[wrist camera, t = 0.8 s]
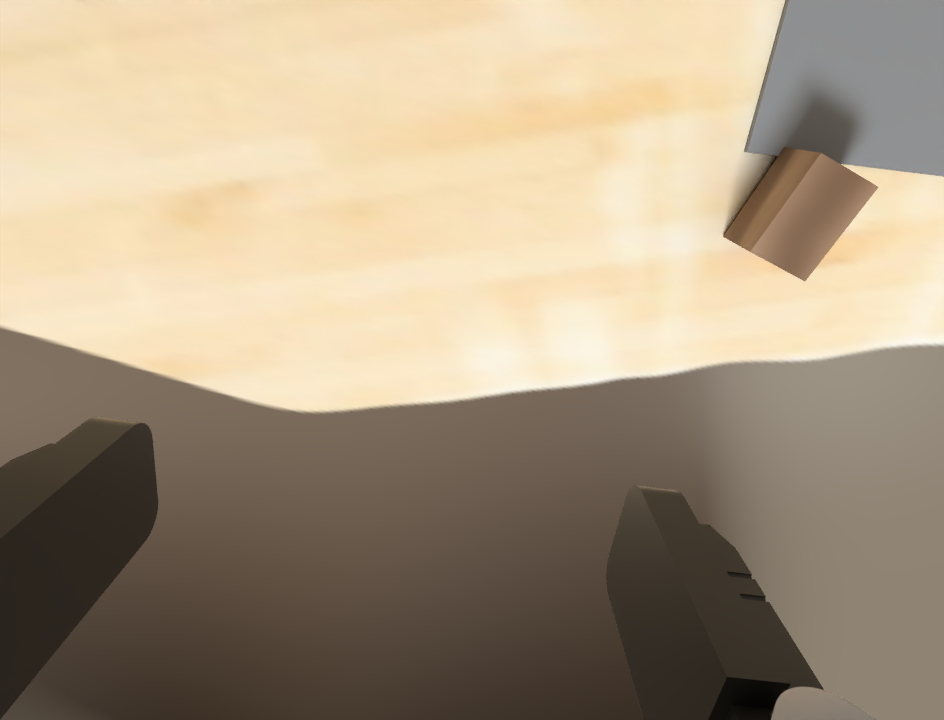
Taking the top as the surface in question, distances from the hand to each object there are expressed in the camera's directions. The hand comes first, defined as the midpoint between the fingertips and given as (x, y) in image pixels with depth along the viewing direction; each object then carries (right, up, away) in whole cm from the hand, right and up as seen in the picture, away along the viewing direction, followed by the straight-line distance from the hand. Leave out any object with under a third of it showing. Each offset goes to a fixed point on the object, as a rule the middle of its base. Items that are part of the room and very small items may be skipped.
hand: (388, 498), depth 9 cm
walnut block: (+21, +12, +26) cm, 35 cm away
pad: (+27, +20, +23) cm, 40 cm away
